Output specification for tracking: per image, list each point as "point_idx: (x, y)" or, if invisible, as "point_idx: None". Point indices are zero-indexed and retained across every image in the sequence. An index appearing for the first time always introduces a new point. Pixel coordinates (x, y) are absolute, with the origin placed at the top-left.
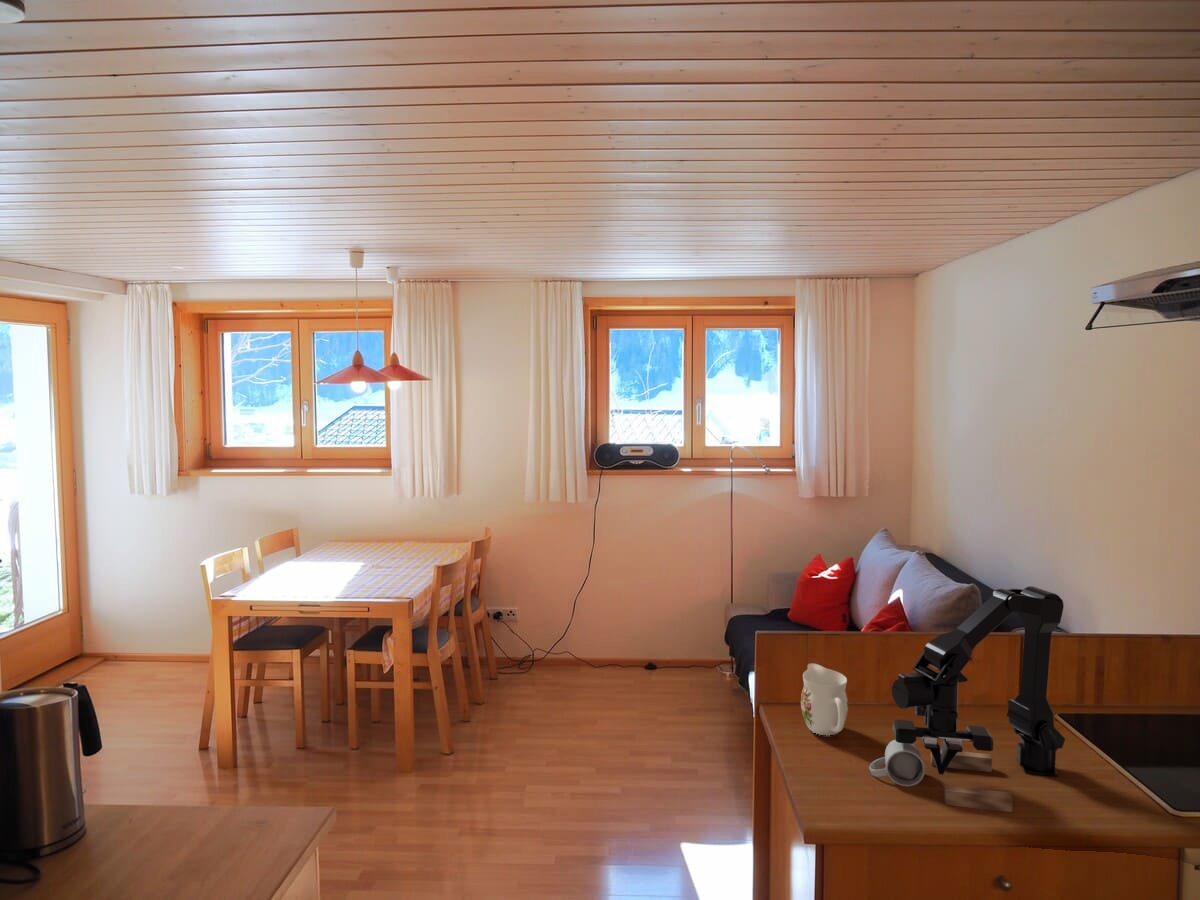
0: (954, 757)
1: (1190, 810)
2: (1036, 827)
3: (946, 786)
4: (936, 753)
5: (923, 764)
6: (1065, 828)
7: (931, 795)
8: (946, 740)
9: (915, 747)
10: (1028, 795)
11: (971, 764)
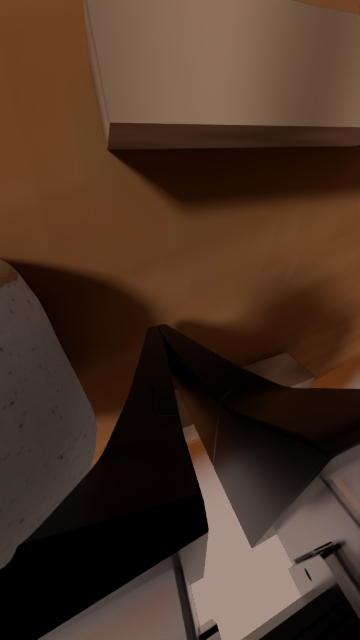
0: (261, 130)
1: None
2: None
3: None
4: (165, 514)
5: (88, 470)
6: (330, 368)
7: (123, 394)
8: (299, 578)
9: None
10: (351, 285)
11: (314, 140)
